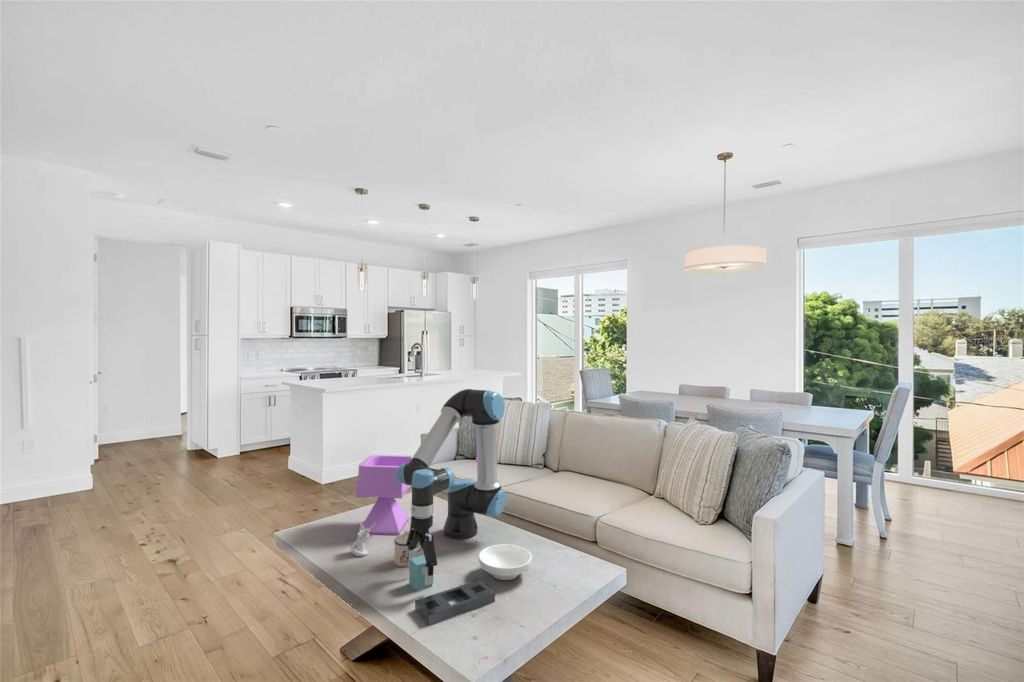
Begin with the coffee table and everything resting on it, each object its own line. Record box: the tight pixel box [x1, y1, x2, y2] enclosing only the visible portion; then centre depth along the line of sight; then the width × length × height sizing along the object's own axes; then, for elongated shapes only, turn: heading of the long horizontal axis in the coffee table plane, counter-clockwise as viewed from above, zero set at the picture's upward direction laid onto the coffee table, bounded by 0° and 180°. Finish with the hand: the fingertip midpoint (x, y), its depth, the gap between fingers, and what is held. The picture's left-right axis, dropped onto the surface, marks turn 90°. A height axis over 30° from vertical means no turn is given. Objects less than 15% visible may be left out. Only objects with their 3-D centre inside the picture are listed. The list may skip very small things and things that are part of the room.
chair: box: [355, 454, 413, 536], centre depth 221 cm, size 20×20×30 cm
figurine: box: [350, 521, 375, 557], centre depth 195 cm, size 11×8×12 cm
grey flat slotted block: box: [414, 579, 496, 626], centre depth 158 cm, size 24×10×3 cm, turn 125°
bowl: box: [478, 543, 533, 581], centre depth 179 cm, size 20×20×7 cm
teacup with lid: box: [393, 530, 423, 568], centre depth 188 cm, size 12×9×12 cm
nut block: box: [408, 554, 433, 592], centre depth 171 cm, size 6×6×9 cm
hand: (420, 575), depth 170 cm, fingers open, 13 cm apart
